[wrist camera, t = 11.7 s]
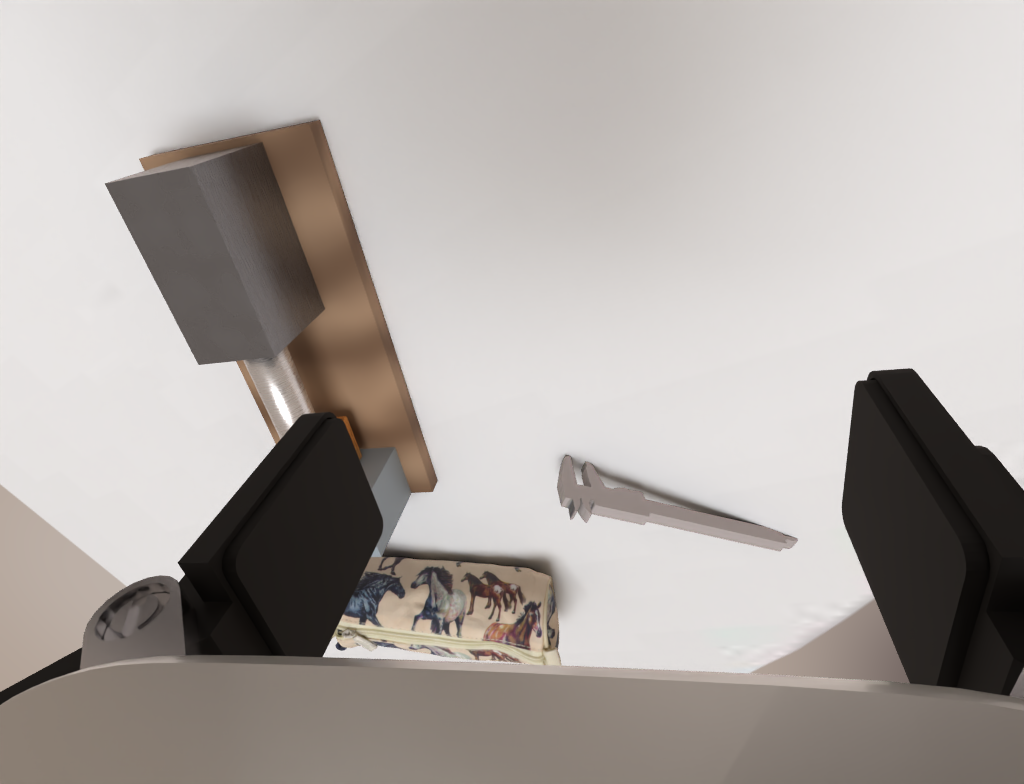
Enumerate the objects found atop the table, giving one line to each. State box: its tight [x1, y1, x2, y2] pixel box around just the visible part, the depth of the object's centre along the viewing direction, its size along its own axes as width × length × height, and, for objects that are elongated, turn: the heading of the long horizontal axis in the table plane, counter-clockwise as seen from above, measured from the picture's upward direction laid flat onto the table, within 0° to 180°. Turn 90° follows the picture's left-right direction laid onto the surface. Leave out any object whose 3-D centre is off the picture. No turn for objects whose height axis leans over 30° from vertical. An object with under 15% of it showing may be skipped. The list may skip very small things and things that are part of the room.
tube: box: [243, 346, 362, 460], centre depth 44 cm, size 18×4×6 cm, turn 11°
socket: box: [360, 447, 411, 557], centre depth 49 cm, size 5×9×8 cm, turn 101°
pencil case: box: [331, 557, 561, 666], centre depth 55 cm, size 22×8×10 cm, turn 93°
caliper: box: [557, 456, 798, 551], centre depth 47 cm, size 21×1×6 cm, turn 72°
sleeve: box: [105, 142, 325, 365], centre depth 39 cm, size 12×6×7 cm, turn 11°
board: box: [139, 120, 437, 493], centre depth 47 cm, size 30×13×2 cm, turn 11°
